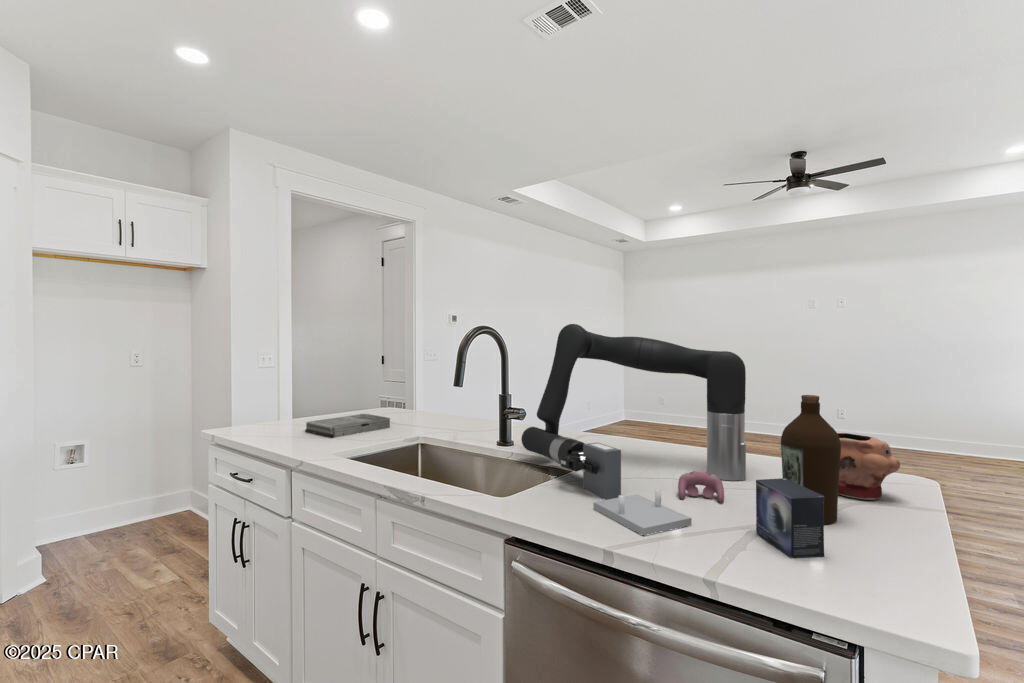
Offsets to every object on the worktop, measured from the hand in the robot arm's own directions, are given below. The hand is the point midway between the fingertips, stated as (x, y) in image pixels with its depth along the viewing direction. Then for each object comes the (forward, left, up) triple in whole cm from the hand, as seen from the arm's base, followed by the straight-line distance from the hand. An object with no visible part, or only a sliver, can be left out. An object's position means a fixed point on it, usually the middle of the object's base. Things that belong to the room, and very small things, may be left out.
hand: (607, 468), depth 114 cm
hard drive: (+110, -48, -7) cm, 120 cm away
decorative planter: (-53, -21, -7) cm, 58 cm away
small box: (-34, +16, -7) cm, 39 cm away
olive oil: (-41, -1, -7) cm, 42 cm away
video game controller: (-20, -5, -7) cm, 22 cm away
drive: (+2, -2, -7) cm, 7 cm away
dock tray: (-8, +11, -7) cm, 15 cm away
